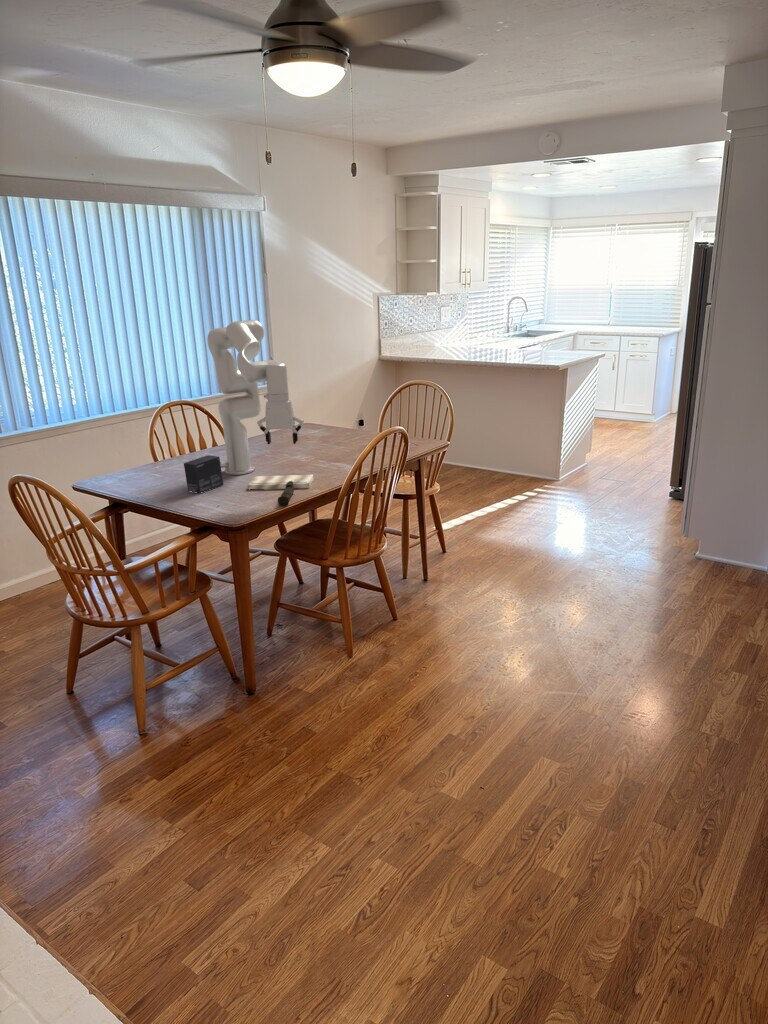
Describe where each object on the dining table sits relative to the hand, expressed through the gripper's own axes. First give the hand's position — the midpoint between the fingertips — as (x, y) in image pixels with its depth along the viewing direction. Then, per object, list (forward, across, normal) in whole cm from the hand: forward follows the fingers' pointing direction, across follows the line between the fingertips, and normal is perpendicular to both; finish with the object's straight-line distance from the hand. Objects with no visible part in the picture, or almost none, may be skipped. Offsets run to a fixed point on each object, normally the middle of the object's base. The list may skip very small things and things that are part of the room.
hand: (282, 443), depth 263 cm
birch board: (+20, -4, +11) cm, 23 cm away
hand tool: (+20, +1, -6) cm, 21 cm away
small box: (+20, -34, +9) cm, 41 cm away
